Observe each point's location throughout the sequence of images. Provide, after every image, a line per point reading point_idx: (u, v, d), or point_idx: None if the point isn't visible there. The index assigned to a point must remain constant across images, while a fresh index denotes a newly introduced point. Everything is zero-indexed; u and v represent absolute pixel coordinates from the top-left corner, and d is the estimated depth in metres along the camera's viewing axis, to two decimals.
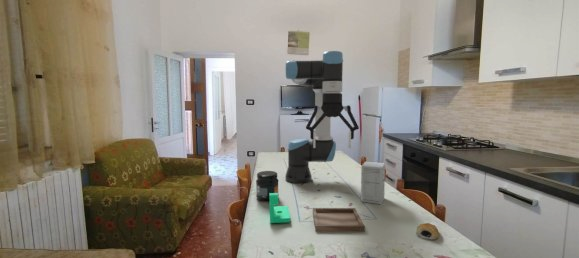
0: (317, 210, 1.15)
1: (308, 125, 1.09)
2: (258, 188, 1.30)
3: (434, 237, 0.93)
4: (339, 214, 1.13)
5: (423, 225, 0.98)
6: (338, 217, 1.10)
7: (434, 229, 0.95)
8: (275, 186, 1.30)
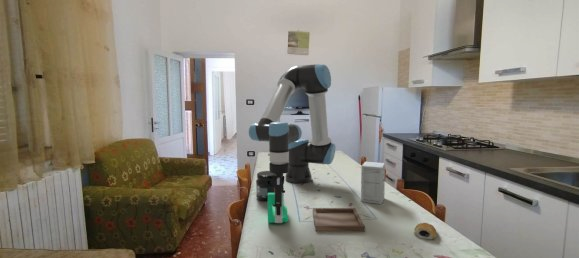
0: (317, 210, 1.15)
1: None
2: (258, 188, 1.30)
3: (432, 237, 0.94)
4: (339, 214, 1.13)
5: (421, 225, 0.98)
6: (338, 217, 1.10)
7: (432, 229, 0.96)
8: None
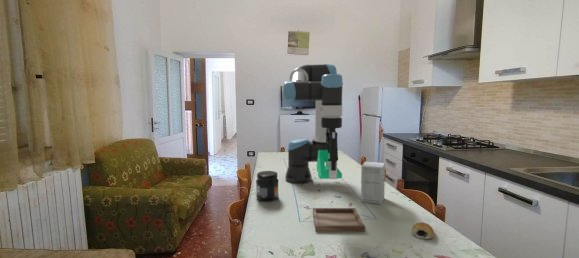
0: (317, 210, 1.15)
1: (325, 146, 1.14)
2: (258, 188, 1.30)
3: (430, 236, 0.94)
4: (339, 214, 1.13)
5: (418, 225, 0.98)
6: (338, 217, 1.10)
7: (429, 228, 0.96)
8: (275, 186, 1.30)
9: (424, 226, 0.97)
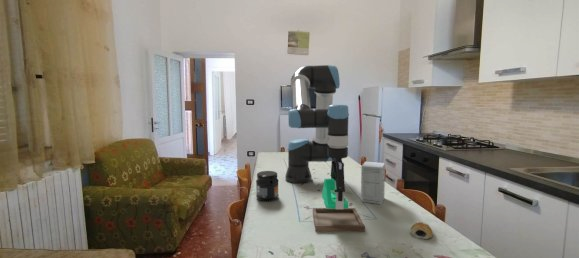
0: (317, 210, 1.15)
1: (331, 173, 1.15)
2: (258, 188, 1.30)
3: (429, 236, 0.94)
4: (339, 214, 1.13)
5: (417, 225, 0.98)
6: (338, 217, 1.10)
7: (428, 228, 0.96)
8: (275, 186, 1.30)
9: (423, 226, 0.97)
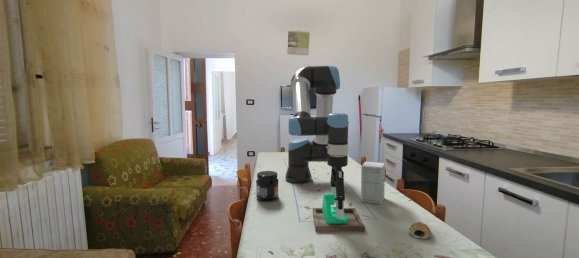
0: (317, 210, 1.15)
1: None
2: (258, 188, 1.30)
3: (427, 236, 0.94)
4: None
5: (415, 225, 0.98)
6: None
7: (426, 228, 0.96)
8: (275, 186, 1.30)
9: (421, 226, 0.97)
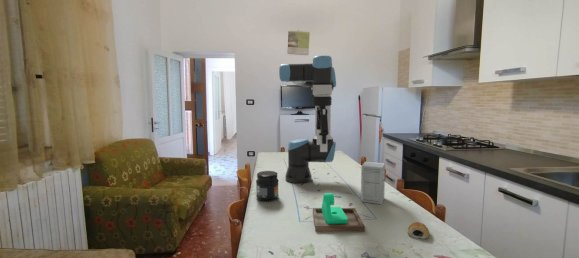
0: (317, 210, 1.15)
1: (316, 123, 1.23)
2: (258, 188, 1.30)
3: (426, 236, 0.94)
4: None
5: (414, 225, 0.98)
6: None
7: (425, 228, 0.96)
8: (275, 186, 1.30)
9: (420, 226, 0.97)
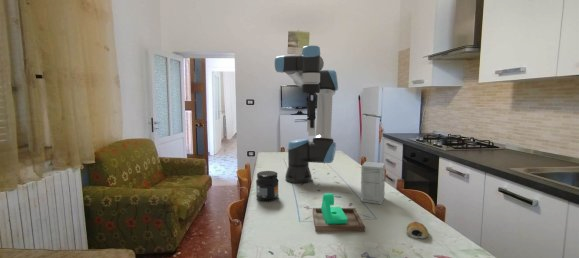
0: (317, 210, 1.15)
1: None
2: (258, 188, 1.30)
3: (425, 236, 0.94)
4: None
5: (413, 224, 0.98)
6: None
7: (424, 228, 0.96)
8: (275, 186, 1.30)
9: (418, 226, 0.97)
